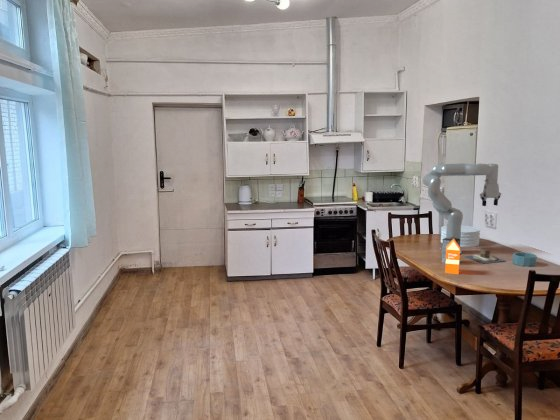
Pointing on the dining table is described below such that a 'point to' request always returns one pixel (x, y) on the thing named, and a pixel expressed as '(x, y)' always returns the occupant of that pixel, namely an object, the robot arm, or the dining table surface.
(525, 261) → the bowl
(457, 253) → the orange juice
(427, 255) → the dining table surface
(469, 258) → the mat
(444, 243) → the coffee box
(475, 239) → the plate stack
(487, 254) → the lid
